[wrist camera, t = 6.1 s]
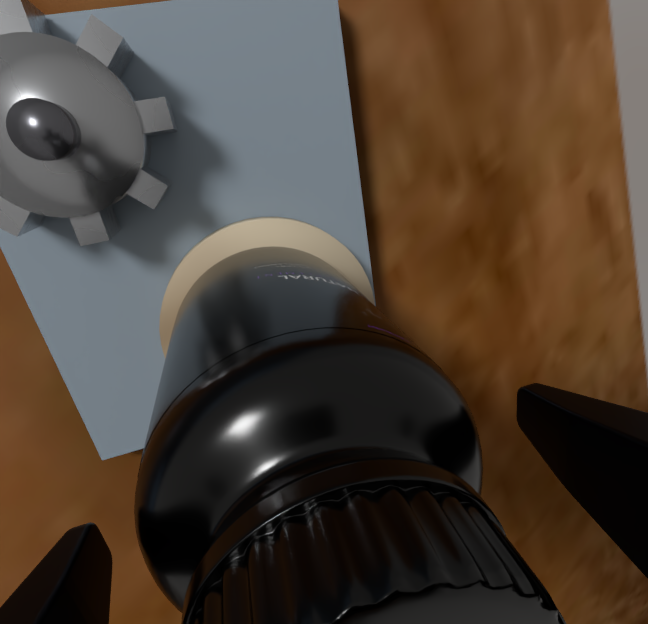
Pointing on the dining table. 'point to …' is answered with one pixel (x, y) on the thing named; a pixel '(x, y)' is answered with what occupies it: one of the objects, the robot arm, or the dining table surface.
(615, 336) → the dining table surface
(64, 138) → the gear
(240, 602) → the supplement bottle
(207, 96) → the gear board
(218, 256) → the hub pad
